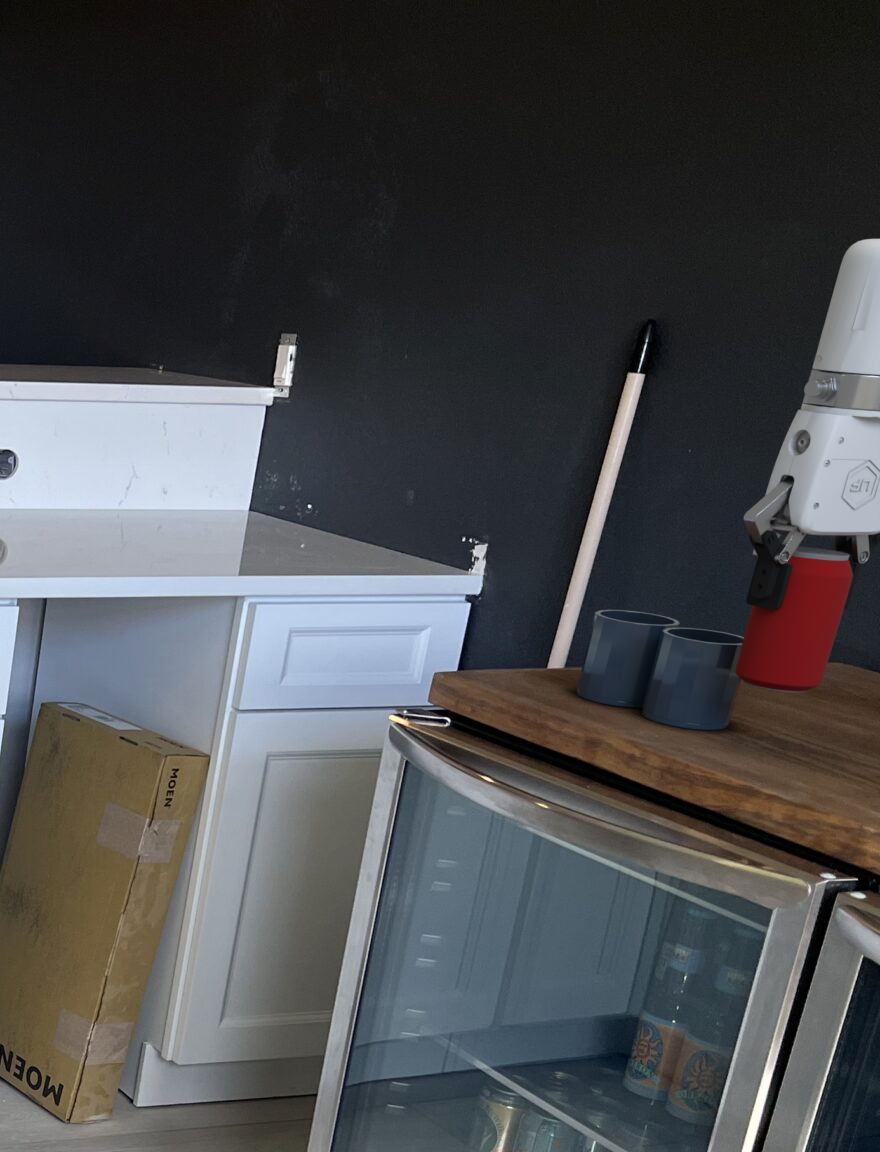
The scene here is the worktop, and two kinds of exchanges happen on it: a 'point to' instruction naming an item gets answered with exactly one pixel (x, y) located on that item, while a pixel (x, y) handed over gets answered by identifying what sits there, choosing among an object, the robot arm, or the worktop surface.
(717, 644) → the tumbler mid
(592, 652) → the tumbler far
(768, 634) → the beverage can
